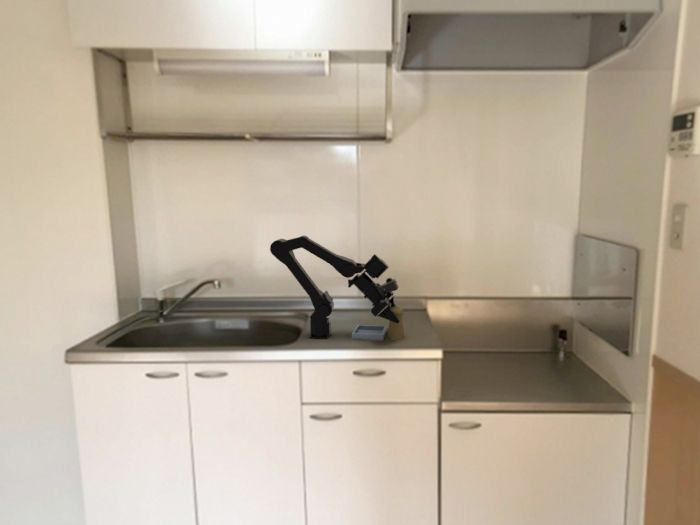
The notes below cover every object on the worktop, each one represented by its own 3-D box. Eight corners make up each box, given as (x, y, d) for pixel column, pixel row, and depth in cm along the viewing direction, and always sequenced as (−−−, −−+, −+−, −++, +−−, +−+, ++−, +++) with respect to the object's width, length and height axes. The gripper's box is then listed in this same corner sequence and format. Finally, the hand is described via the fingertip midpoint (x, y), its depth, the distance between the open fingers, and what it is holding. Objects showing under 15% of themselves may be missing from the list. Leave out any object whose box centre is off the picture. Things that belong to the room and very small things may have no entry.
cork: (404, 335, 166) (404, 305, 165) (404, 340, 160) (404, 309, 159) (387, 334, 167) (387, 305, 165) (387, 340, 161) (387, 309, 159)
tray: (352, 339, 162) (351, 333, 162) (357, 330, 173) (357, 324, 173) (382, 340, 160) (382, 334, 160) (386, 331, 171) (386, 326, 170)
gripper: (380, 276, 152) (414, 310, 151) (387, 267, 170) (418, 298, 170) (357, 299, 155) (390, 333, 154) (366, 288, 173) (396, 318, 172)
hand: (399, 319), depth 162 cm, fingers open, 7 cm apart
